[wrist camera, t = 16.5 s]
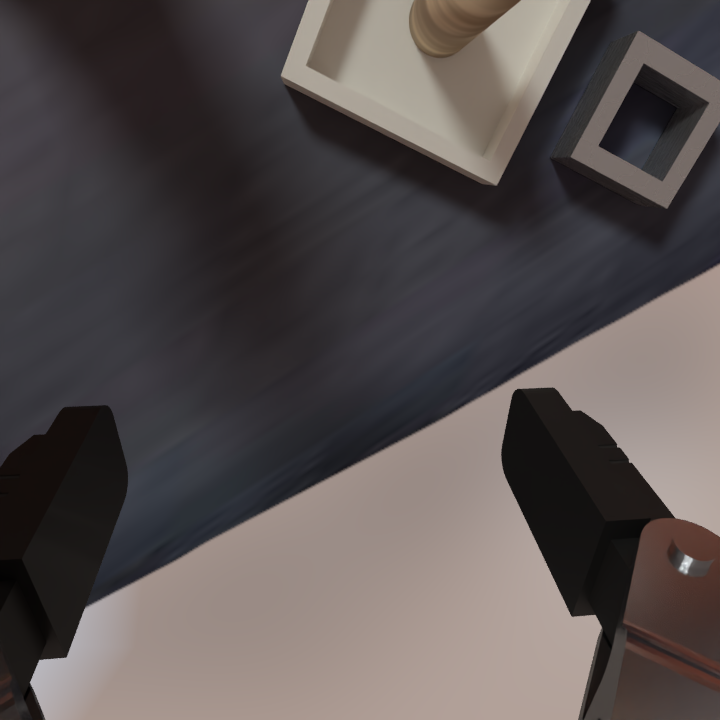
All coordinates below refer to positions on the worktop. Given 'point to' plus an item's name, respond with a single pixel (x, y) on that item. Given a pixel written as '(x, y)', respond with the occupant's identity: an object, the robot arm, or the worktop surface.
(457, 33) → the peg
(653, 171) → the collar
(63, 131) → the worktop surface
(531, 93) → the tray
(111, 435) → the robot arm
